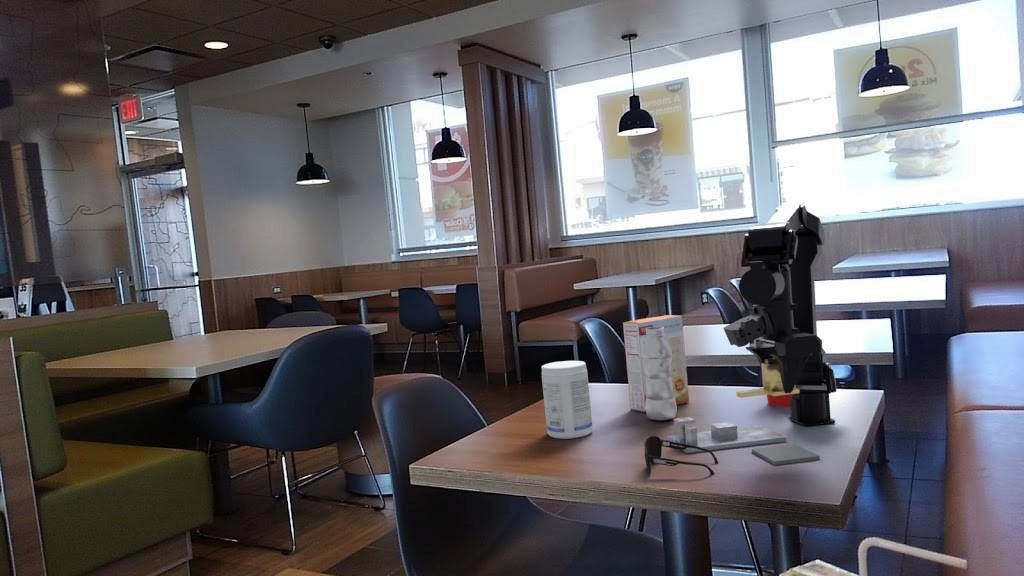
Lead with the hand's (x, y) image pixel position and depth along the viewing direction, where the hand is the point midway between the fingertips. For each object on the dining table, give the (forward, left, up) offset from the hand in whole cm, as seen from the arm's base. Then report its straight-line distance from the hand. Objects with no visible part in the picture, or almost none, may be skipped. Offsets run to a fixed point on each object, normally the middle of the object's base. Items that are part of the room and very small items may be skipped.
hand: (779, 390), depth 121 cm
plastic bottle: (+10, -34, -12) cm, 37 cm away
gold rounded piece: (+3, 0, 0) cm, 3 cm away
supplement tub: (+31, -31, -12) cm, 45 cm away
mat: (0, 0, -11) cm, 11 cm away
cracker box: (+6, -47, -12) cm, 49 cm away
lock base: (+5, -13, -11) cm, 18 cm away
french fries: (-19, -36, -12) cm, 42 cm away
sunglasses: (+18, -1, -12) cm, 22 cm away
